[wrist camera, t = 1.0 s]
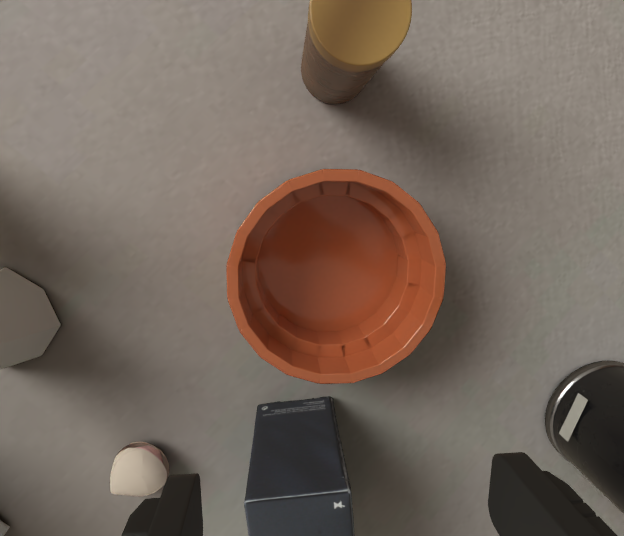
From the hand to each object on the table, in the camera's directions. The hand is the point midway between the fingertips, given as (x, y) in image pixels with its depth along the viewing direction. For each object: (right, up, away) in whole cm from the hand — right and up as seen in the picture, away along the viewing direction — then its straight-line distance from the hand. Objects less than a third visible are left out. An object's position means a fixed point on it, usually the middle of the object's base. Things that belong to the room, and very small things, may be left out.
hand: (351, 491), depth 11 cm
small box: (-2, -9, +23) cm, 25 cm away
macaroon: (-15, -10, +22) cm, 29 cm away
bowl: (0, +6, +20) cm, 21 cm away
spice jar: (0, +20, +17) cm, 26 cm away
